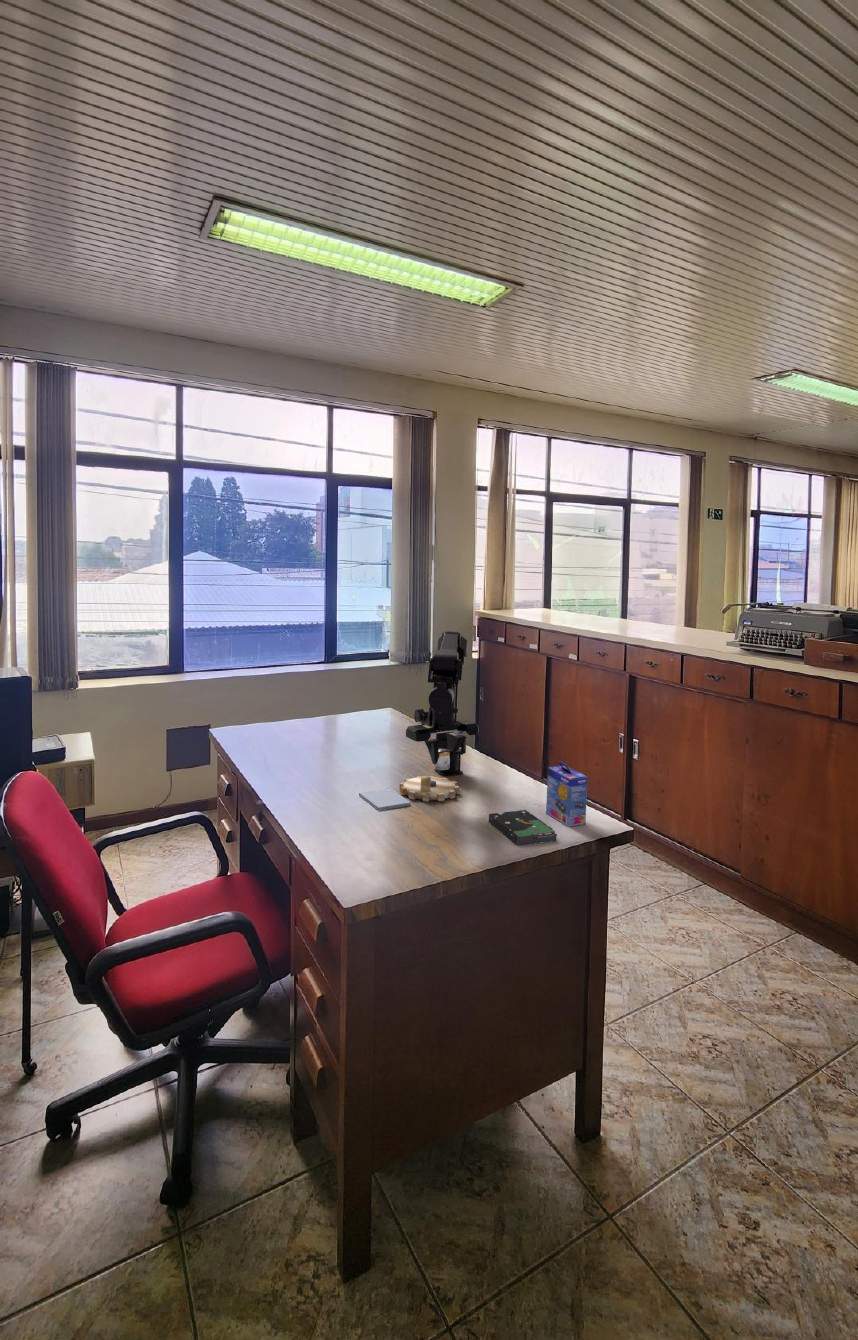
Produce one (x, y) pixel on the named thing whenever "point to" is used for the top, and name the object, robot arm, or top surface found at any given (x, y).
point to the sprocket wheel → (429, 788)
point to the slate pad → (384, 799)
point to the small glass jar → (443, 760)
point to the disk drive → (522, 827)
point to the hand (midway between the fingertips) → (441, 763)
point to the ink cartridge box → (566, 795)
